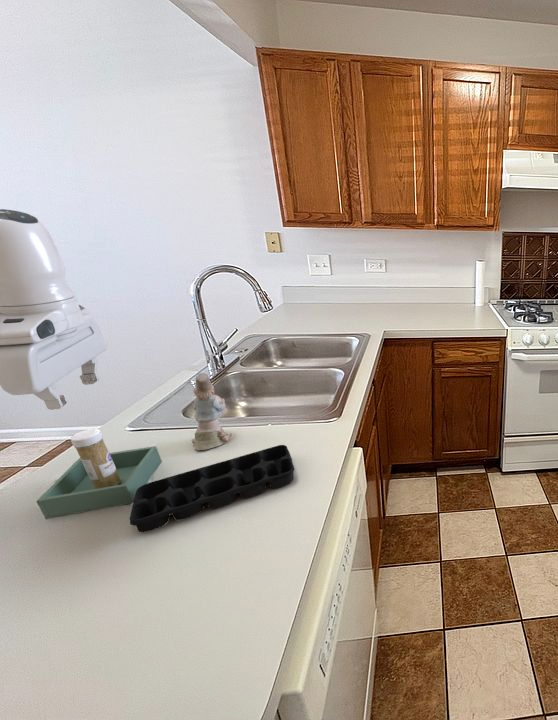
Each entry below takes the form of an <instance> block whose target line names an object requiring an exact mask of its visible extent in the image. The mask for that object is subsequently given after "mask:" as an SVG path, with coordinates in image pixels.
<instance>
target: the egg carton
mask: <svg viewBox="0 0 558 720" xmlns="http://www.w3.org/2000/svg"><path fill="white" fill-rule="evenodd" d="M295 470H296V469H295V466H294V463H293V458H292V455H291V453H290V451H289V449H288V446H287V445H285V444H278V445H275V446H271V447H268V448H265V449H261V450H258V451H254V452H251V453H247V454H243V455H241V456H237V457H233V458H231V459H227V460H223V461H220V462H216V463H213V464H209V465H205V466H202V467H199V468H196V469H195V468H194V469H192V470H188V471H185V472H182V473H178V474H174V475H171V476H167V477H163V478H161V479H157V480H154V481H150V482H147V484H145V485H143V486H141V487H139V488H138V489H137V490H136V494H135V497H134V501H133V503H132V506H131V509H130V514H129V524H130V525H131V526H133V527H134V526H135V528H136V530H137V532H139V533H143V534H144V533H148V532H151V531H154V530H157V529H160V528H162V527H164V526H165V525H167V524H168V523H169V521H170V515H172V516H173V518H174V520H176V521H183V520H187V519H189V518H192V517H195V516H196V515H197V514H199V513H201V512H203V511H204V508H205V507H208V508H209V509H210V510H216V509H220V508H223V507H226V506H229V505H231V504H232V503H234V502H235V501H236V498H237V496H236V495H237V494H239V496H240V498H242V499H249V498H253V497H256V496H259V495H261V494H263V493H264V492H265V491H266V489H267V487H268V486H269V487H270V488H271V489H274V490H275V489H279V488H282V487H286V486H288V485H290V484H292V483H293V482H294V479H295V478H294V477H295V476H294V472H295Z"/></svg>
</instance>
